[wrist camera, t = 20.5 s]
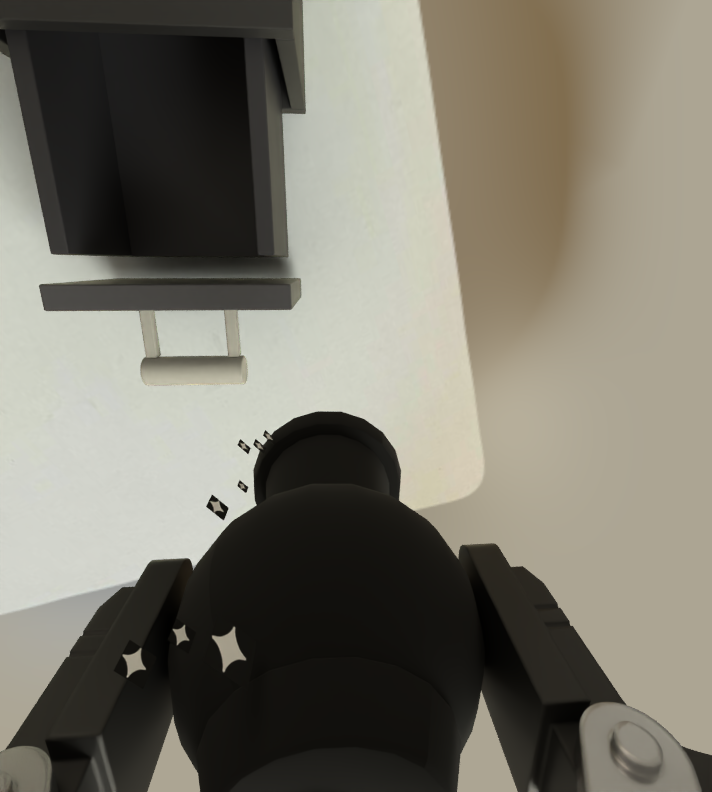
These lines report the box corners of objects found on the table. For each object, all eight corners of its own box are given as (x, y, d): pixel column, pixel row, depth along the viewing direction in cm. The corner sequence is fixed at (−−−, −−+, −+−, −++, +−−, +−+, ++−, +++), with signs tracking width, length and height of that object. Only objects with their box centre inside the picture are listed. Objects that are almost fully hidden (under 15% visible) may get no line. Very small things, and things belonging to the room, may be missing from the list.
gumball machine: (191, 462, 14) (-81, 865, 5) (317, 342, 13) (298, 541, 4) (329, 575, 16) (334, 1031, 6) (448, 476, 15) (659, 842, 6)
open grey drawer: (303, 362, 29) (295, 397, 21) (133, 364, 28) (63, 401, 21) (291, 28, 23) (274, -84, 16) (76, 20, 22) (-48, -100, 15)
